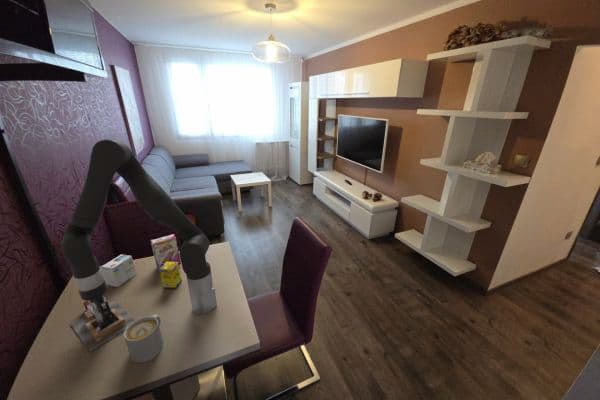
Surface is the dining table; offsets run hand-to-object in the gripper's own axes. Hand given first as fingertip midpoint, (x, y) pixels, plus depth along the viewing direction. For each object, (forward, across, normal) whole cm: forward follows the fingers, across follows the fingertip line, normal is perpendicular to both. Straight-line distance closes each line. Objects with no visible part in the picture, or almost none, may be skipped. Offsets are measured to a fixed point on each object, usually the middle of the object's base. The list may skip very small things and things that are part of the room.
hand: (103, 317), depth 93 cm
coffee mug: (+5, -21, -6) cm, 22 cm away
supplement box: (+5, +3, -28) cm, 29 cm away
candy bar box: (+5, +19, -35) cm, 40 cm away
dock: (+5, +3, 0) cm, 6 cm away
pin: (+4, +12, 0) cm, 13 cm away
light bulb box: (+5, +27, -16) cm, 32 cm away
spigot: (+5, 0, 0) cm, 5 cm away
